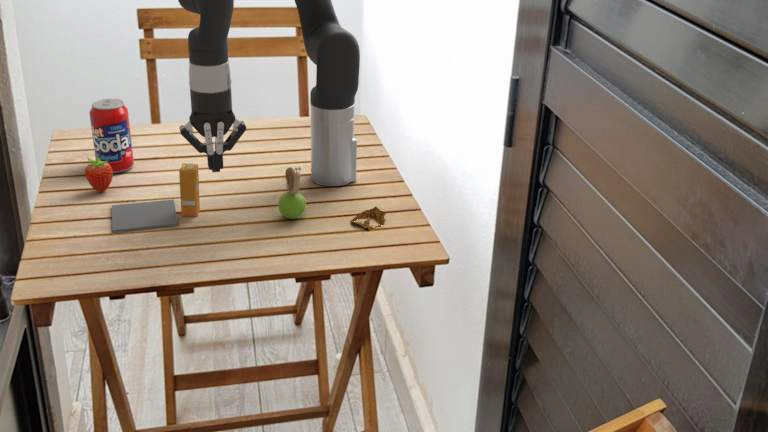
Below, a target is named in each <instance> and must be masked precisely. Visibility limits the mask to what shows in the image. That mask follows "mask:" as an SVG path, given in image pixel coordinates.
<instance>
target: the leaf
mask: <svg viewBox="0 0 768 432" xmlns="http://www.w3.org/2000/svg"><path fill="white" fill-rule="evenodd" d="M385 216H386V212H385V211H383V210H380V209H379V208H378V206H374V207H373V208H370V209H366V210H364V211H361V212H359V213H357V215H356V216H355V217H353V218H352V219H350V222H351V223H352V224H353V223H355V224H358V225H359V226H360V227H362V228H364V229H366V228H367V229H368V230H369V231H371V230H376V229H378V228H377V227H379V228H382V227H381V225H384V226H385V223H386V218H385ZM357 219H358V220H357ZM365 219H366V220H365ZM360 220H364V222H363V223H362V222H361V221H360ZM373 220H374V221H375V223H376V224H377V223H378V225H371V223H370V222H371V221H373ZM354 221H355V222H354ZM379 224H380V225H379ZM373 226H375V227H373Z"/></svg>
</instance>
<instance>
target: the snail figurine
mask: <svg viewBox="0 0 768 432" xmlns="http://www.w3.org/2000/svg"><path fill="white" fill-rule="evenodd" d="M298 170H299V171H298ZM301 170H302V167H301V166H299V167H295V169H294V168H293V167H287V168H286V170H285V173H284V174H285V175H284V176H285V182H286V185H285V186H286V190H287V191H286V192H284V193H283V194H282V195H281V196H280V198H279V200H278V204H277V207H278V211H279V213H280V214H281V215H282V216H283V217H284V218H286V219H291V220H294V219H298V218H300V217H301V216H302V215H303V214H304V213H305V211H306V209H307V201H306V199H305V197H304V196H303V194H302V193H300V188H301V178H302V177H301V172H300V171H301Z"/></svg>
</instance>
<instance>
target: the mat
mask: <svg viewBox="0 0 768 432" xmlns="http://www.w3.org/2000/svg"><path fill="white" fill-rule="evenodd" d="M178 226H179V222H178V216H177V211H176V204H175V200H174V199H165V200H155V201H144V202H135V203H134V202H133V203H124V204H122V203H121V204H113V205H111V227H112V228H111V230H112V233H113V234H114V233H121V232H130V231H133V232H134V231H143V230H151V229H161V228H171V227H178Z"/></svg>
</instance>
